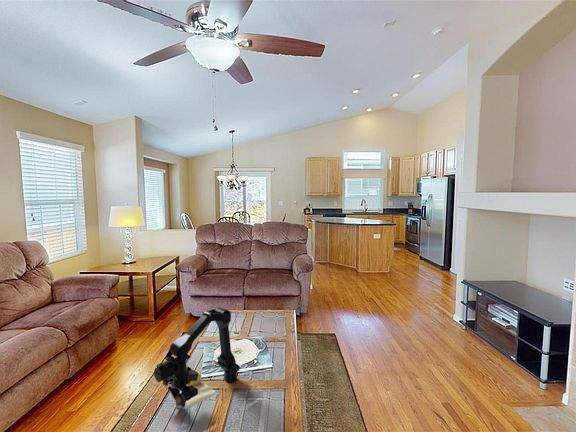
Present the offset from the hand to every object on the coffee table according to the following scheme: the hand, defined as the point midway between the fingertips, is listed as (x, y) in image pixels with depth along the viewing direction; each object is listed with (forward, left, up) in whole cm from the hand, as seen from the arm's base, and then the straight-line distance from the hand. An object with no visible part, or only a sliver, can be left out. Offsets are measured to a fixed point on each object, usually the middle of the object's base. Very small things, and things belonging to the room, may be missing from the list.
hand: (180, 404), depth 138 cm
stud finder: (+14, -13, -2) cm, 19 cm away
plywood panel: (+8, -11, -3) cm, 14 cm away
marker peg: (0, 0, -1) cm, 1 cm away
